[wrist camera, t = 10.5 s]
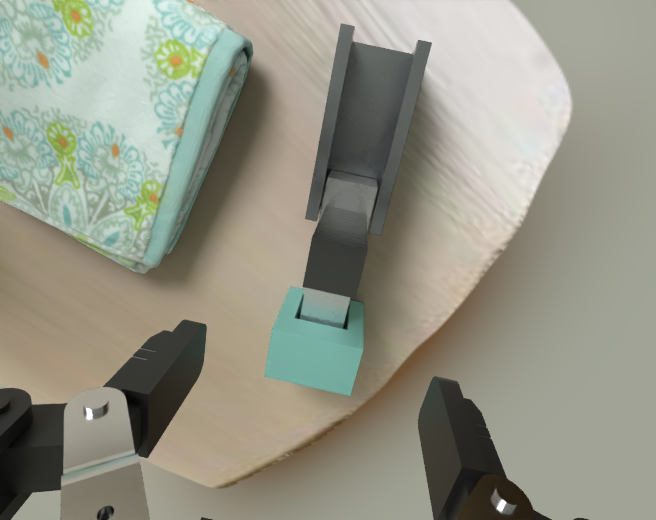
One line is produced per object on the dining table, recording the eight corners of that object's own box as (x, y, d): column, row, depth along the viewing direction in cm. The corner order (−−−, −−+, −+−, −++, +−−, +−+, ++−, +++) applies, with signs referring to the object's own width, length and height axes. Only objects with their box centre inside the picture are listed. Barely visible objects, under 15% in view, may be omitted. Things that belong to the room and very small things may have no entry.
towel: (-9, 171, 34) (-69, 180, 29) (43, -91, 27) (-28, -136, 22) (172, 268, 36) (142, 291, 31) (267, 48, 28) (248, 35, 24)
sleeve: (346, 42, 27) (341, 23, 22) (418, 57, 27) (431, 42, 22) (316, 200, 32) (305, 219, 26) (377, 214, 32) (380, 235, 26)
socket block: (290, 286, 35) (272, 328, 28) (364, 302, 35) (363, 349, 28) (283, 327, 37) (264, 376, 30) (353, 342, 37) (350, 396, 30)
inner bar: (331, 170, 30) (313, 199, 19) (376, 179, 30) (382, 214, 19) (301, 320, 35) (274, 408, 24) (339, 329, 35) (328, 420, 24)
